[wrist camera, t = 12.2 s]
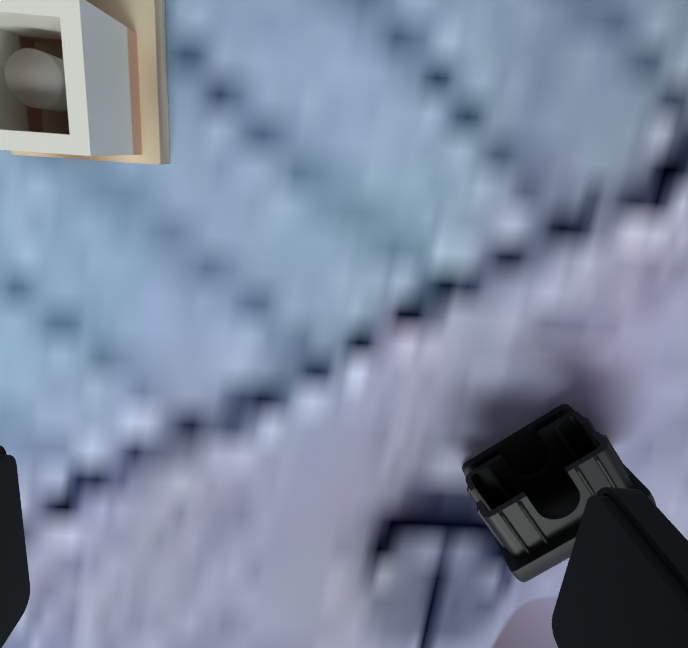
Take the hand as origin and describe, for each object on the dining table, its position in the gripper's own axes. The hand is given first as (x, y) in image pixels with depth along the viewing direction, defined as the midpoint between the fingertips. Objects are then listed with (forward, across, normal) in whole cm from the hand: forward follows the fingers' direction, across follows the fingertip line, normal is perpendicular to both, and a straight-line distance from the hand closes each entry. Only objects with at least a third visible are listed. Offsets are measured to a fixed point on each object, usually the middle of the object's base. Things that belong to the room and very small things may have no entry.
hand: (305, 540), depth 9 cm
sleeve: (+24, +13, -8) cm, 28 cm away
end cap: (+26, -17, +15) cm, 35 cm away
